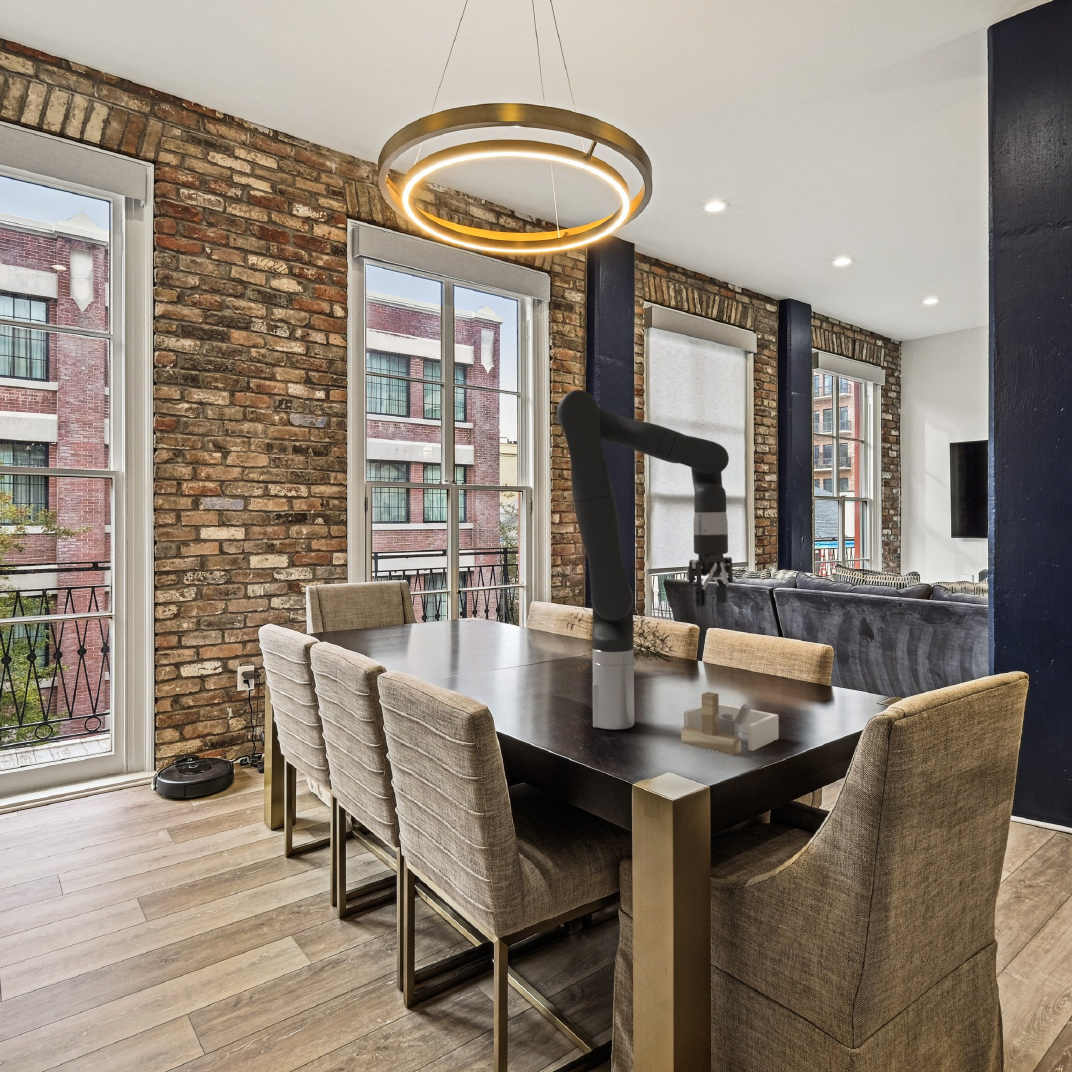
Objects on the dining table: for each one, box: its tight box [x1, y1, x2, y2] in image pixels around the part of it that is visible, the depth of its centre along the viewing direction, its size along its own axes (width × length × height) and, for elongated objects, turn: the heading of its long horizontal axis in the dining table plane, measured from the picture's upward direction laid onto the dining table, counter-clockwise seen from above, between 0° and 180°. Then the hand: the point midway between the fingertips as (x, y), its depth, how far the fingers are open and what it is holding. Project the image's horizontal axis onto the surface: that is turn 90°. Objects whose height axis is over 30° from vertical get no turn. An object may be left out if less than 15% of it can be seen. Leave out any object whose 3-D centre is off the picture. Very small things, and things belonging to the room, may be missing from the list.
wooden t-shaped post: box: [680, 691, 742, 756], centre depth 148 cm, size 3×12×11 cm, turn 44°
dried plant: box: [556, 576, 678, 671], centre depth 212 cm, size 30×31×45 cm
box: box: [683, 703, 780, 752], centre depth 155 cm, size 11×16×5 cm
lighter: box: [719, 703, 752, 737], centre depth 152 cm, size 7×2×8 cm, turn 45°
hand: (711, 604), depth 165 cm, fingers open, 8 cm apart
